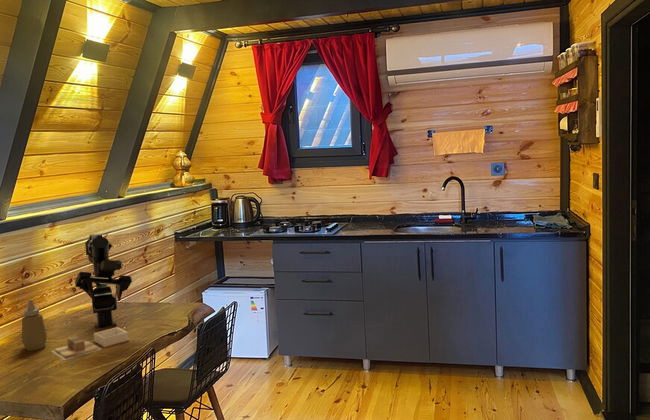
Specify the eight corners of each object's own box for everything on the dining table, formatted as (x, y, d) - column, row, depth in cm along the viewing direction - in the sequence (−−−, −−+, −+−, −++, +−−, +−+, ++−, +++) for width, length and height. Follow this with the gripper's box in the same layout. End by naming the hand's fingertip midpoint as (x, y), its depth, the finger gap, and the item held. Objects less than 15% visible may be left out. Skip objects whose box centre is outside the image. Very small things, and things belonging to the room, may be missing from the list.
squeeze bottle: (23, 354, 202) (17, 304, 200) (23, 347, 209) (17, 299, 207) (48, 349, 206) (43, 300, 203) (47, 343, 213) (42, 295, 211)
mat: (51, 352, 203) (50, 350, 203) (88, 342, 212) (88, 340, 212) (64, 361, 193) (64, 360, 193) (102, 350, 202) (102, 349, 202)
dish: (94, 342, 211) (93, 333, 211) (118, 335, 217) (117, 326, 217) (104, 348, 205) (103, 338, 204) (128, 341, 211) (127, 332, 210)
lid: (54, 350, 203) (53, 340, 202) (86, 342, 210) (85, 332, 210) (66, 358, 195) (65, 347, 194) (98, 349, 202) (97, 338, 202)
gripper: (82, 248, 205) (87, 282, 195) (134, 254, 216) (140, 287, 207) (73, 269, 210) (76, 303, 200) (123, 273, 222) (129, 306, 212)
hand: (106, 299), depth 205 cm, fingers open, 9 cm apart
